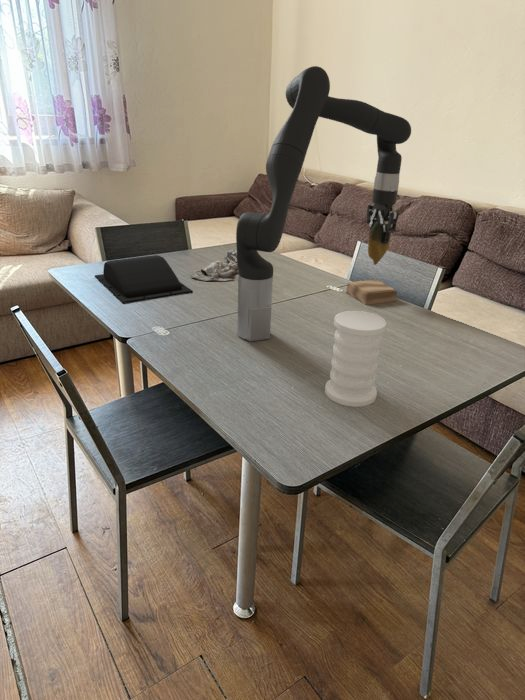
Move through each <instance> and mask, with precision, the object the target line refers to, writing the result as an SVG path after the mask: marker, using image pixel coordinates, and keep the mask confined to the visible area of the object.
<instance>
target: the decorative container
mask: <svg viewBox="0 0 525 700" xmlns="http://www.w3.org/2000/svg"><path fill="white" fill-rule="evenodd" d="M333 321H334V322H333V326H334V327H335V328H336V330H335V331H334V335H333V336H334V341H335V343H334V344H333V346H332V352H333V356H332V358H331V362H330V363H331V367H332V368H331V370H330V372H329V377H330V378H329V380H327V381H326V382H325V387H324V388H325V389H324V393H325V395H326V397H327V398H328V399H330V400H331V401H332V402H334V403H336V404H338V405H342V406H345V407H353V408H355V407H356V408H357V407H358V408H359V407H360V408H361V407H365V406H369V405H371V404H372V403H374V402H375V401H376V398H377V395H378V391H377V388H376V386H375V384H376V372H377V370H378V367H379V366H378V360H379V358H380V352H381V351H380V346H381V345H382V342H383V337H382V334H383V333H385V331H386V329H387V328H386V327H387V322H386V320H385V319H384V318H383V317H381V315H378V314H376V313H372V312H369V311H362V310H346V311H341V312H339V313H337V314H335V316H334V320H333Z"/></svg>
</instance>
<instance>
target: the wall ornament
mask: <svg viewBox="0 0 525 700" xmlns="http://www.w3.org/2000/svg"><path fill="white" fill-rule="evenodd" d="M234 257H235V258H236V259H237V249H230V250H227V251H226V255H225V256H224V258H223V261H224V262H222V261H221V260H217V261H212V262H211V263H210V264H208V265H207V266H202V267H201V268H200V269H195V270H194V271H193V273H196V274H193V273H190V274H189V278H190V279H191V278H192V279H196V280H200V281H206V282H207V281H220V282H226V281H236V280H237V281H238V276H239V274H238V273H239V270H238V266H237V260H236V259H235V258H234ZM230 261H232V262H230ZM202 271H203V272H205V273H206V275H204V274H203V272H202ZM198 273H199V274H198ZM236 273H237V274H236ZM193 275H194V276H193Z"/></svg>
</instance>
